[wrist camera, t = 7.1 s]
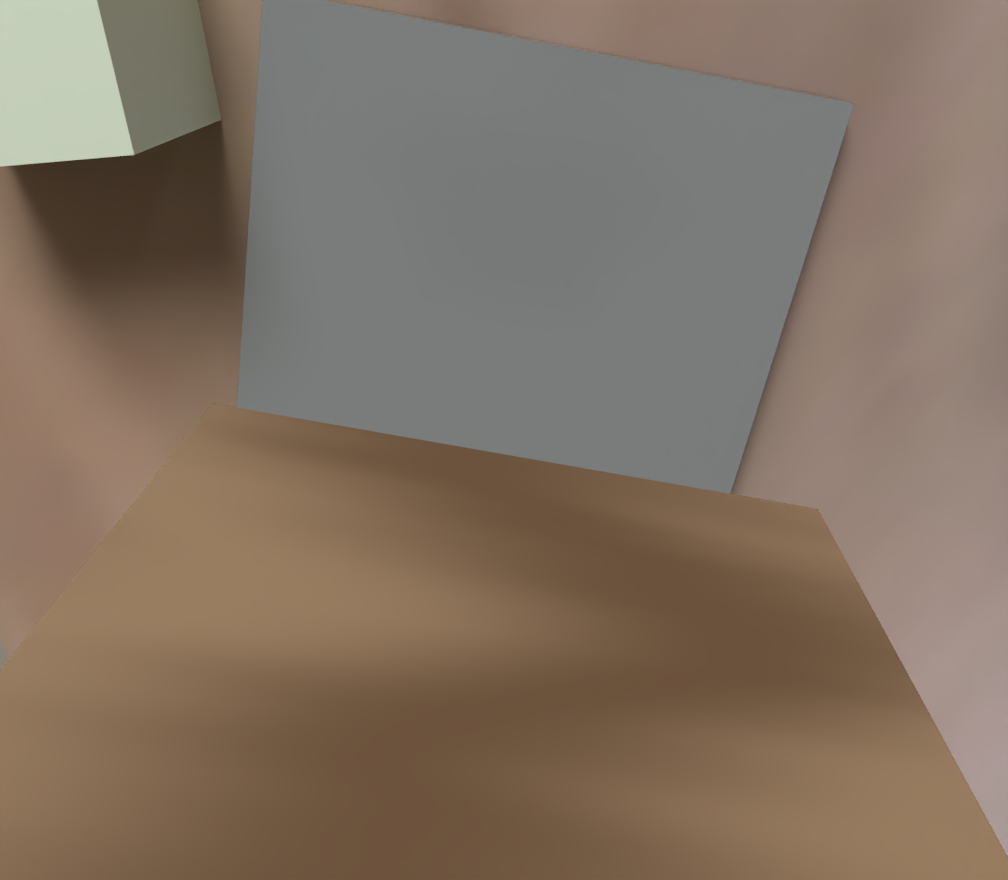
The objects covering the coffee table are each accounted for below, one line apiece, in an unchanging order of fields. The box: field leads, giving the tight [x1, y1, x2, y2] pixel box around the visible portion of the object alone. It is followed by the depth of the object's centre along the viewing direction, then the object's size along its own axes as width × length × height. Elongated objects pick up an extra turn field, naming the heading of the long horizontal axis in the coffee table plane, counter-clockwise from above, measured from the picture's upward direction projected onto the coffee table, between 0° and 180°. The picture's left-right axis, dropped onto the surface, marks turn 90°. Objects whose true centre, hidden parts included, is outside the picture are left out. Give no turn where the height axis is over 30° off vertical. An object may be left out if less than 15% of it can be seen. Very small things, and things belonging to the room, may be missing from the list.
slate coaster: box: [237, 0, 854, 494], centre depth 22 cm, size 12×12×1 cm
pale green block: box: [0, 0, 222, 167], centre depth 18 cm, size 5×5×5 cm
